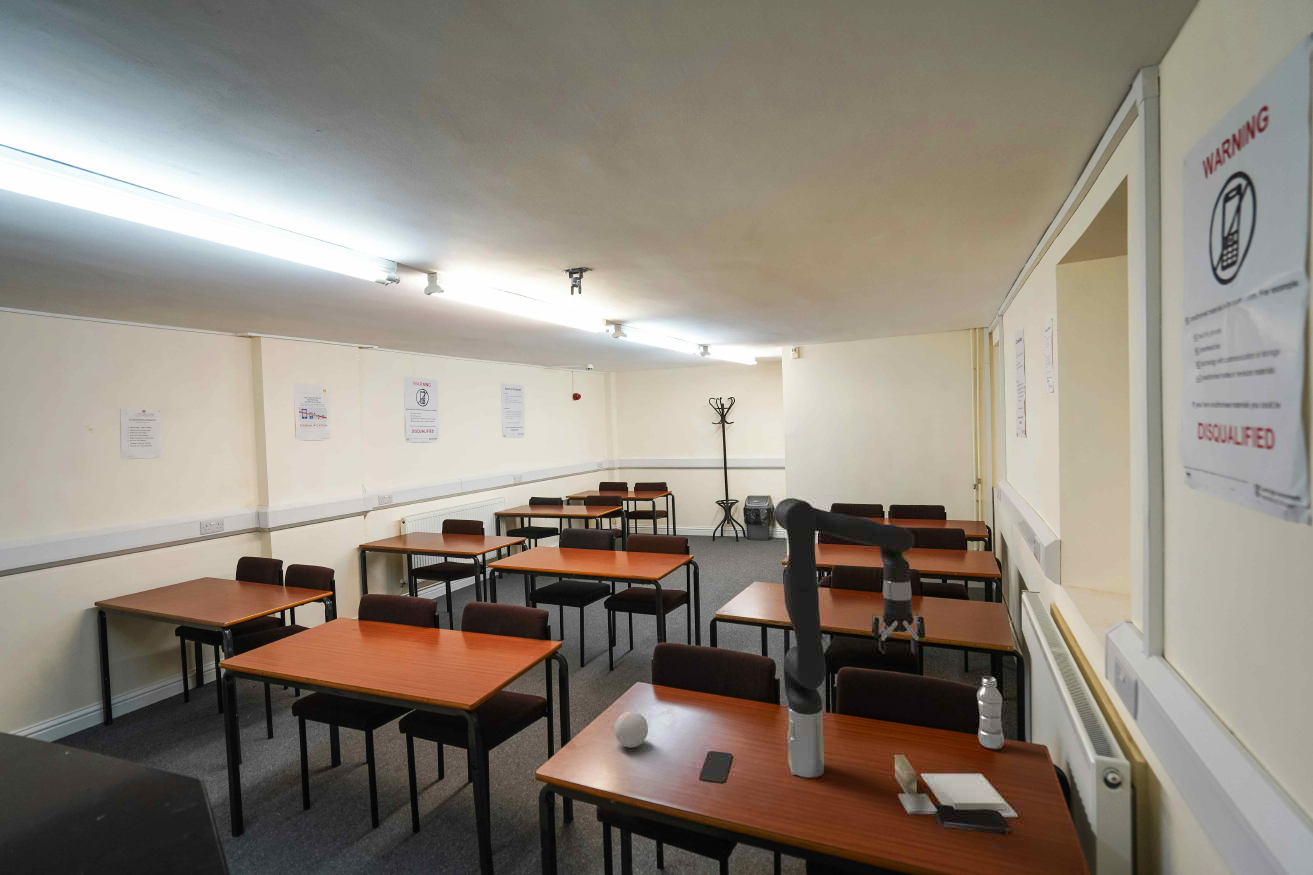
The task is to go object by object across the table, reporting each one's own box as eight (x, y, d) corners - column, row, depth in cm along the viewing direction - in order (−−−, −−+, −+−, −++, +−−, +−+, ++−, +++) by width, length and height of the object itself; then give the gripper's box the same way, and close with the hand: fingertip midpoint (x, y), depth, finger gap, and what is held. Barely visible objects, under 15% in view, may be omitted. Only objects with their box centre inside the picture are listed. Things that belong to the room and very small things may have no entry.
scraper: (908, 813, 147) (907, 789, 147) (886, 776, 163) (885, 754, 163) (937, 813, 147) (936, 789, 147) (912, 776, 163) (912, 754, 163)
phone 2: (1010, 831, 139) (939, 822, 142) (1010, 836, 139) (939, 827, 142) (999, 810, 146) (932, 802, 150) (999, 815, 146) (932, 807, 150)
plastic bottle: (1007, 753, 174) (1005, 683, 174) (982, 751, 175) (980, 682, 175) (999, 741, 180) (998, 674, 180) (975, 740, 181) (973, 673, 181)
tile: (934, 782, 159) (954, 810, 147) (934, 775, 159) (954, 802, 147) (981, 782, 159) (1005, 810, 147) (980, 775, 159) (1005, 802, 147)
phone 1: (698, 778, 164) (708, 750, 178) (698, 781, 164) (708, 752, 178) (725, 782, 162) (733, 753, 176) (725, 785, 162) (733, 755, 176)
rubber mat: (949, 816, 146) (949, 815, 146) (920, 774, 164) (920, 773, 164) (1018, 816, 145) (1018, 815, 145) (981, 774, 163) (981, 773, 163)
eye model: (625, 734, 190) (624, 703, 190) (654, 741, 186) (653, 708, 186) (609, 749, 181) (608, 716, 181) (639, 757, 177) (638, 722, 177)
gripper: (876, 599, 169) (877, 657, 169) (927, 598, 169) (929, 656, 169) (867, 592, 177) (869, 647, 177) (917, 591, 176) (919, 647, 176)
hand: (898, 652), depth 173 cm, fingers open, 8 cm apart
